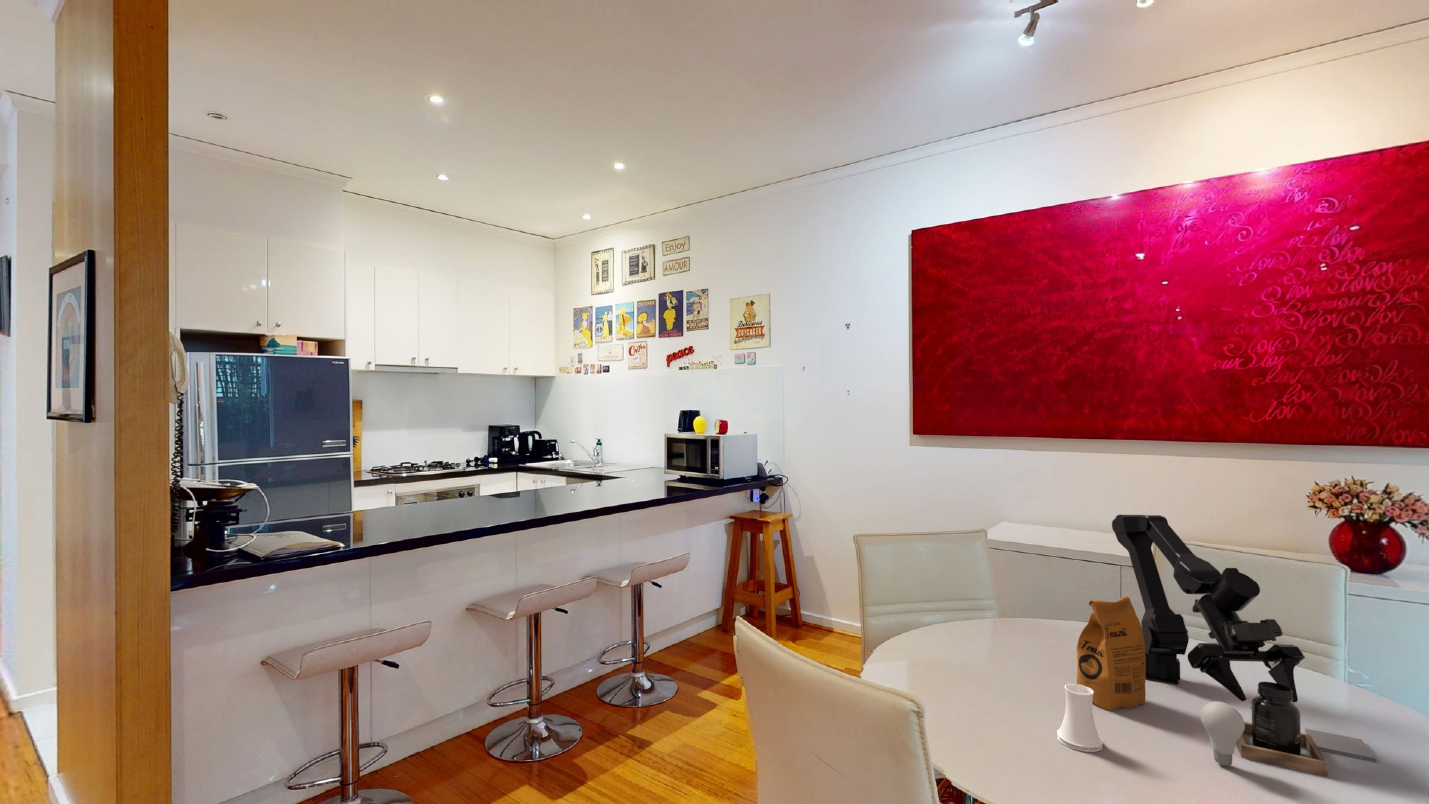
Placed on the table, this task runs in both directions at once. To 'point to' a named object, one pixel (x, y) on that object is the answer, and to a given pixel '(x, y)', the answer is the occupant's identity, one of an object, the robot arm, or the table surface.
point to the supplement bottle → (1276, 719)
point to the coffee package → (1113, 655)
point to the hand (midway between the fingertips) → (1269, 701)
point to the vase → (1079, 720)
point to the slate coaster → (1341, 744)
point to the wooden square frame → (1285, 754)
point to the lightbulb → (1222, 729)
